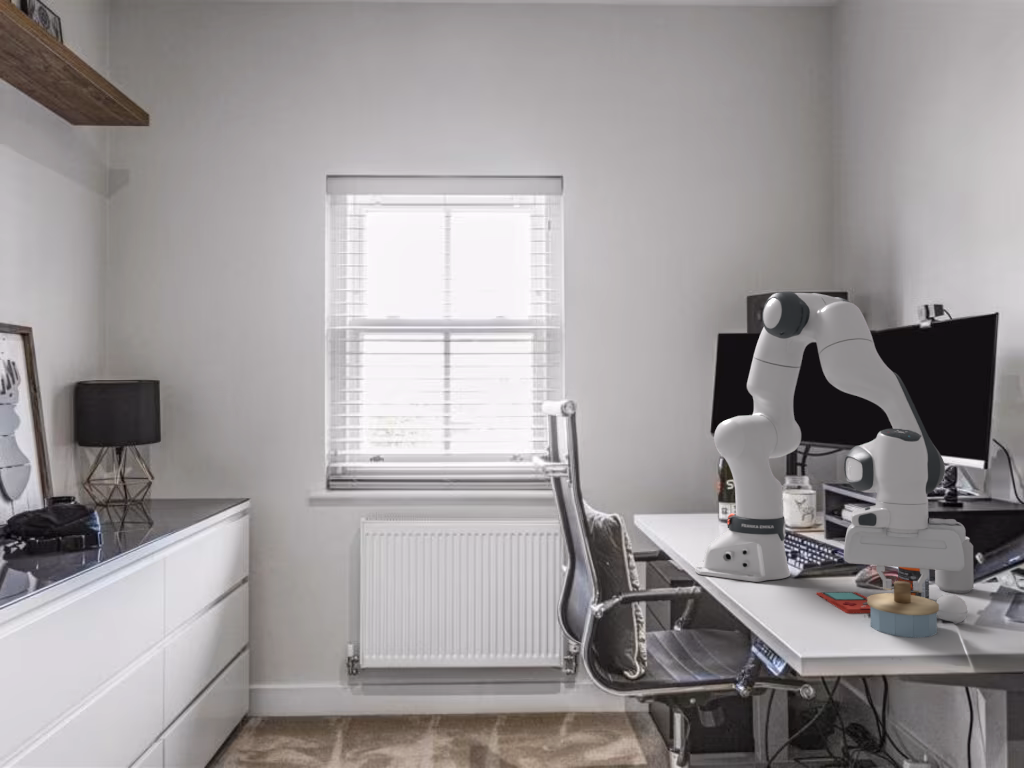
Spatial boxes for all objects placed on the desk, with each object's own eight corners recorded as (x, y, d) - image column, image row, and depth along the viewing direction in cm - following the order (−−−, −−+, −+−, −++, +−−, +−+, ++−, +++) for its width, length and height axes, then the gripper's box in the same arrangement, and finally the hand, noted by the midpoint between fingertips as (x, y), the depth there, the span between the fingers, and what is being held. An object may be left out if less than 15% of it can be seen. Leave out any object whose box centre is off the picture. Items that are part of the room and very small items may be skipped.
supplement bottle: (892, 602, 169) (892, 549, 169) (905, 597, 173) (904, 545, 173) (922, 608, 164) (921, 553, 164) (934, 603, 168) (933, 549, 168)
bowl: (871, 638, 146) (870, 610, 146) (870, 621, 156) (870, 595, 156) (938, 645, 141) (938, 617, 141) (933, 627, 151) (933, 601, 151)
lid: (867, 611, 146) (867, 587, 146) (867, 594, 157) (866, 573, 157) (941, 618, 141) (941, 593, 141) (936, 600, 152) (935, 578, 152)
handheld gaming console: (846, 608, 158) (814, 591, 173) (846, 614, 158) (815, 596, 173) (891, 608, 159) (856, 591, 174) (891, 614, 159) (856, 596, 174)
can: (978, 594, 174) (978, 540, 174) (941, 593, 176) (941, 539, 176) (966, 586, 182) (965, 533, 182) (930, 584, 183) (930, 532, 183)
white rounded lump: (932, 617, 158) (932, 589, 158) (965, 620, 156) (964, 592, 156) (937, 629, 151) (937, 599, 151) (972, 632, 149) (971, 602, 149)
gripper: (963, 517, 147) (964, 591, 147) (843, 511, 156) (844, 581, 156) (967, 522, 142) (968, 600, 142) (843, 516, 150) (843, 589, 150)
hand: (902, 590), depth 149 cm, fingers open, 4 cm apart
